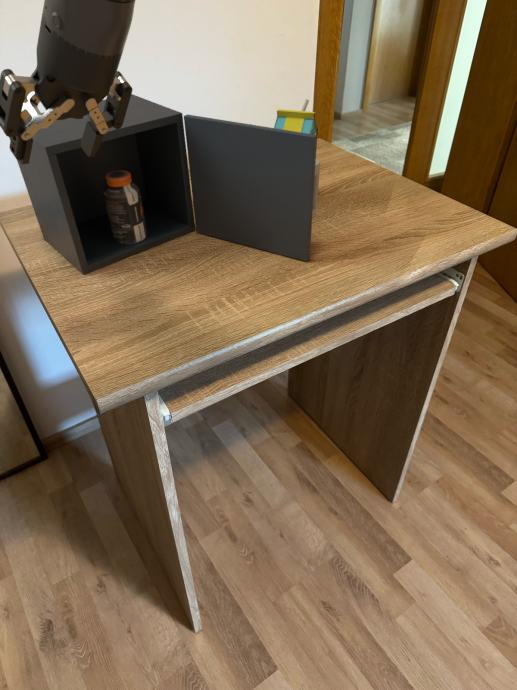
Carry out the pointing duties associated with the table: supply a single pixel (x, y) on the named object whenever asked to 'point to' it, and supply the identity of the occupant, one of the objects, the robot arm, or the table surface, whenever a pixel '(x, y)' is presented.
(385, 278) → the table surface
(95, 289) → the table surface
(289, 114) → the carton
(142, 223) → the pill bottle
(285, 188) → the cupboard door
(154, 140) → the cupboard
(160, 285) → the table surface
